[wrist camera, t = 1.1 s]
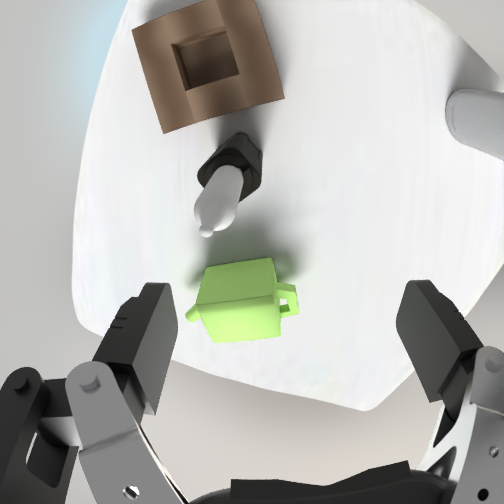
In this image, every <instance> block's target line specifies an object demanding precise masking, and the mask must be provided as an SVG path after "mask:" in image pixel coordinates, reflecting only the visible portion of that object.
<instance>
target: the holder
mask: <svg viewBox="0 0 504 504" xmlns="http://www.w3.org/2000/svg"><path fill="white" fill-rule="evenodd" d="M132 34H133V37H134V41H135V44H136V48H137V51H138V54H139V58H140V61H141V65H142V68H143V71H144V75H145V78H146V81H147V84H148V88H149V91H150V94H151V97H152V100H153V103H154V107H155V110H156V113H157V116H158V119H159V122H160V125H161V128H162V131H163V134H166V133H168V132H171V131H174V130H177V129H180V128H183V127H185V126H188V125H191V124H194V123H197V122H201V121H204V120H207V119H210V118H213V117H217V116H220V115H223V114H227V113H230V112H234V111H237V110H241V109H245V108H249V107H253V106H256V105H260V104H265V103H269V102H273V101H277V100H282V99H285V97H284V93H283V90H282V86H281V83H280V79H279V76H278V72H277V69H276V65H275V62H274V59H273V55H272V52H271V49H270V46H269V43H268V39H267V36H266V33H265V30H264V27H263V24H262V21H261V18H260V15H259V12H258V9H257V6H256V3H255V1H254V0H206V1H203V2H200V3H197V4H194V5H191V6H188V7H185V8H182V9H180V10H177V11H174V12H172V13H169V14H167V15H164V16H162V17H159V18H157V19H155V20H152V21H150V22H148V23H145V24H143V25H141V26H139V27H137V28H134V29H132Z"/></svg>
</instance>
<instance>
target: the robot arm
mask: <svg viewBox="0 0 504 504" xmlns="http://www.w3.org/2000/svg"><path fill="white" fill-rule="evenodd" d="M446 121H447V125H448V128H449V130H450V132H451V134H452V136H453V137H454V138H455V139H456V140H457V141H459V142H460V143H462V144H464V145H467V146H470V147H472V148H475V149H477V150H480V151H482V152H485V153H487V154H489V155H492V156H494V157H497V158H499V159H501V160H503V161H504V93H501V92H494V91H485V90H477V89H458V90H456V91H455V92H453V93H452V95H451V96H450V98H449V99H448V102H447V105H446ZM396 328H397V332H398V334H399V336H400V338H401V340H402V342H403V344H404V347H405V349H406V351H407V353H408V355H409V357H410V359H411V361H412V364H413V366H414V368H415V370H416V372H417V375H418V377H419V379H420V381H421V383H422V386H423V388H424V390H425V393H426V395H427V398H428V400H429V402H430V403H431V402H434V401H438V400H443V402H444V405H443V406H442V407H441V410H440V412H439V415H438V419H437V422H436V425H435V428H434V431H433V434H432V437H431V439H430V443H429V445H428V448H427V450H426V453H425V455H424V457H423V458H422V460H421V461H420V463H419V464H418V466H417V467H416V469H415V470H412V469H410V467H409V464H408V461H407V460H406V461H402V462H399V463H394V464H390V465H386V466H382V467H377V468H372V469H368V470H366V471H363V472H361V473H359V474H356V475H354V476H352V477H349V478H347V479H344V480H342V481H339V482H336V483H334V484H331V485H327V486H320V485H311V484H303V483H297V482H291V481H284V480H278V479H272V480H241V479H231V488H228V489H222V490H219V491H215V492H211V493H209V494H206V495H204V496H201V497H199V498H197V499H195V500H193V501H191V502H190V503H189V501H188V500H187V498H186V497H185V496H184V494H183V493H182V491H181V490H180V488H179V487H178V486H177V484H176V483H175V481H174V480H173V478H172V477H171V475H170V474H169V472H168V471H167V470H166V468H165V466H164V465H163V463H162V461H161V460H160V458H159V456H158V455H157V453H156V451H155V450H154V448H153V447H152V444H151V442H150V441H149V439H148V437H147V435H146V433H145V432H144V430H143V428H142V426H141V421H142V417H143V414H149V415H156V411H157V407H158V403H159V399H160V395H161V391H162V388H163V384H164V381H165V377H166V373H167V369H168V366H169V362H170V359H171V356H172V352H173V349H174V345H175V342H176V338H177V333H178V322H177V316H176V311H175V306H174V301H173V296H172V290H171V286H170V284H169V283H146V284H145V285H144V287H143V289H142V291H141V293H140V294H139V296H138V297H131V298H130V299H129V300H128V301H126V302H125V303H124V304H123V305H122V306H121V307H120V309H119V310H118V312H117V314H116V316H115V319H113V321H112V323H111V325H110V328H109V329H108V331H107V332H106V334H105V336H104V338H103V340H102V342H101V344H100V346H99V348H98V350H97V352H96V354H95V355H94V358H93V360H92V361H90V362H85V363H83V364H80V365H78V366H77V367H75V368H74V369H73V370H72V371H71V372H70V373H69V375H68V376H67V378H63V379H51V380H43V379H42V377H41V375H40V374H39V373H38V371H37V370H36V369H34V368H30V367H23V368H19V369H17V370H15V371H14V372H12V373H11V374H10V375H9V376H8V377H7V379H6V381H5V382H4V384H3V386H2V388H1V390H0V504H65V500H66V495H67V491H68V487H69V483H70V479H71V475H72V470H73V467H74V463H75V460H76V456H77V453H78V449H79V446H82V447H83V450H80V451H79V459H80V463H81V466H82V469H83V471H84V474H85V476H86V479H87V481H88V484H89V486H90V488H91V491H92V493H93V495H94V498H95V500H96V502H97V504H504V353H503V352H502V351H501V350H499V349H497V348H494V347H491V346H486V347H484V346H483V344H482V343H481V341H480V340H479V338H478V337H477V335H476V334H475V332H474V331H473V330H472V328H471V327H470V325H469V324H468V323H467V321H466V320H464V317H463V316H462V314H461V313H460V312H459V310H458V309H457V307H456V306H455V305H454V303H453V302H452V301H451V300H450V299H448V298H447V297H446V296H444V295H443V294H442V293H440V292H439V291H438V290H437V288H436V287H435V286H434V285H433V283H432V282H431V281H430V280H411V281H409V282H408V283H407V285H406V287H405V291H404V294H403V298H402V301H401V304H400V307H399V311H398V314H397V318H396ZM35 432H36V433H37V436H36V439H35V442H34V445H33V447H32V450H31V453H30V456H29V459H28V462H27V465H26V456H27V453H28V450H29V447H30V444H31V442H32V439H33V436H34V434H35Z"/></svg>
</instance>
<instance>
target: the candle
mask: <svg viewBox="0 0 504 504" xmlns="http://www.w3.org/2000/svg"><path fill="white" fill-rule="evenodd" d="M261 177H262V152H261V151H260V150H258V149H257V148H256V147H255V146H254V144H253V143H252V142H251V141H250V140H249V138H248V135H247V134H245V133H243V132H239V133H236V134H235V135H234V136H232V137H231V138H230V139H229V140H227V141H226V142H225V143H224V144H222V145H221V146H220V147H219V148H218V149H217V150H216V151H215V152H214V153H213V155H212V156H211V157H210V158H209V159H208V160H207V161H206V162H205V163H204V165H203V166H202V167H201V168H200V169H199V171H198V174H197V178H198V181H199V183H200V184H201V185H202V186H203V187H204V189H203V191H202V193H201V194H200V196H199V197H198V199H197V201H196V203H195V206H194V215H195V218H196V220H197V222H198V223H199V224H200V225H201V227H200V229H199V231H200V234H201V235H202V236H203V237H210V236H211V235H212V234H213V231H220V230H223V229H225V228H227V227H228V226H229V225H230V224H231V223H232V222H233V220H234V218H235V214H236V210H237V206H238V203H239V202H241V201H242V200H243V199H245V198H246V197H247V196H249V195H250V194H251V193H253V192H254V191H255V190H257V189H258V188H259V186H260V184H261Z"/></svg>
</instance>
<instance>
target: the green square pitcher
mask: <svg viewBox="0 0 504 504" xmlns="http://www.w3.org/2000/svg"><path fill="white" fill-rule="evenodd" d="M280 298H281V299H287V302H288V304H286V305H280ZM295 314H299V307H298V301H297V294H296V288H295V285H292V284H286V283H281V282H277V277H276V272H275V267H274V263H273V260H272V258H271V257H270V258H262V259H254V260H247V261H240V262H234V263H228V264H222V265H216V266H211V267H207V268H206V270H205V273H204V276H203V279H202V282H201V286H200V289H199V293H198V296H197V300H196V304H195V305H194V306H193V307H192V308H191V309H190V310H189V311H188V312H186V314H185V316H186V318H187V320H188V321H190V322H195V321H196V320H197V319H198V318H200V317H201V319H202V322H203V324H204V326H205V328H206V330H207V331H208V333H209V335H210V337H211V339H212V340H213V342H215V343H223V342H237V341H248V340H257V339H265V338H272V337H277V336H280V335H281V318H283V317H287V316H291V315H295Z"/></svg>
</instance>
